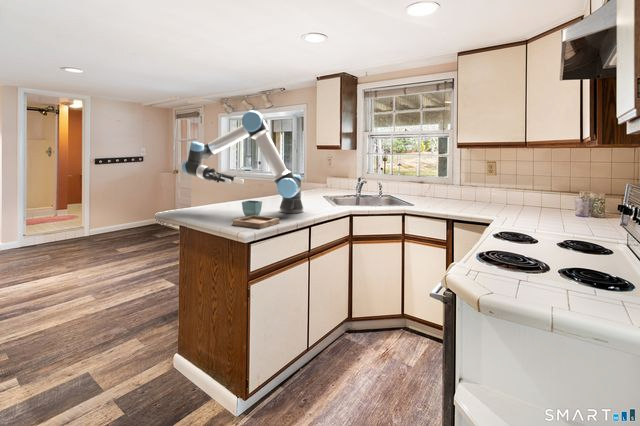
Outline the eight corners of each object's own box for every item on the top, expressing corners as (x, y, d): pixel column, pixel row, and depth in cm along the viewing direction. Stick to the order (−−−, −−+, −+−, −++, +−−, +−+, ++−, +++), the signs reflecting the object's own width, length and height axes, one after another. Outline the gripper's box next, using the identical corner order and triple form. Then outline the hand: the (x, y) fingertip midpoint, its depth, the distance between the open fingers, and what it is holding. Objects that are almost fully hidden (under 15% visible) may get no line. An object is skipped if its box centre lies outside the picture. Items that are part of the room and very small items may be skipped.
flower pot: (262, 216, 203) (262, 201, 202) (255, 219, 195) (255, 202, 194) (248, 215, 206) (248, 200, 204) (241, 217, 197) (241, 202, 196)
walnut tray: (253, 219, 192) (253, 215, 192) (279, 223, 185) (279, 218, 184) (232, 224, 177) (232, 220, 177) (260, 228, 170) (260, 223, 169)
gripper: (217, 179, 219) (247, 188, 213) (191, 178, 196) (222, 189, 189) (220, 167, 218) (249, 176, 212) (193, 165, 194) (225, 175, 188)
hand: (237, 182), depth 201 cm, fingers open, 13 cm apart
